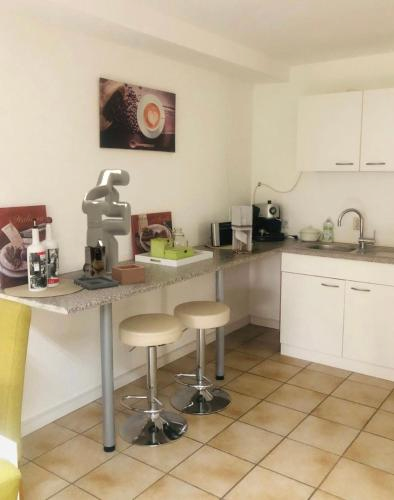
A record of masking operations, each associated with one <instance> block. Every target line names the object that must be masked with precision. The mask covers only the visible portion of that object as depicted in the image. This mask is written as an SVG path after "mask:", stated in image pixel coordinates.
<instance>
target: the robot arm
mask: <svg viewBox="0 0 394 500" xmlns="http://www.w3.org/2000/svg"><path fill="white" fill-rule="evenodd" d="M130 179H131V176H130V174H129V172H128V171H127V170H124V169H120V168H119V169H117V168H115V169H114V168H112V169H111V168H107V169H106V168H105V169H103V170H101V171H100V172H99V175H98V177H97V182H96V185H95V186H94V187H92V188H91V189H90V190H89V191H87V192H86V193H85V195H84V196H83V200H82V202H81V212H82V213H83V214H85V215H86V227H87V228H86V239H85V240H86V242H85V243H86V246H89V247H93V248H95V247H96V261H98V260H102V249H103V246H105V255H106V275H112V270H111V267H114V266H119V242H118V239H117V238H116V236H125V237H126V236H128V235H129V234H130V232H131V231H130V230H131V222H132V221H131V220H132V218H131V217H132V206H131V204H130V202H127V201H120V193H119V191H118V190H117V188H116V187H115V186H117V187H119V186H121V187H122V186H123V187H126V186H128V185H129V184H130ZM103 198H104V200H99V199H103ZM103 216H105V217H106V219H103ZM112 218H113V219H112ZM118 218H119V219H118ZM97 246H99V247H97ZM97 248H99V249H97Z"/></svg>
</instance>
